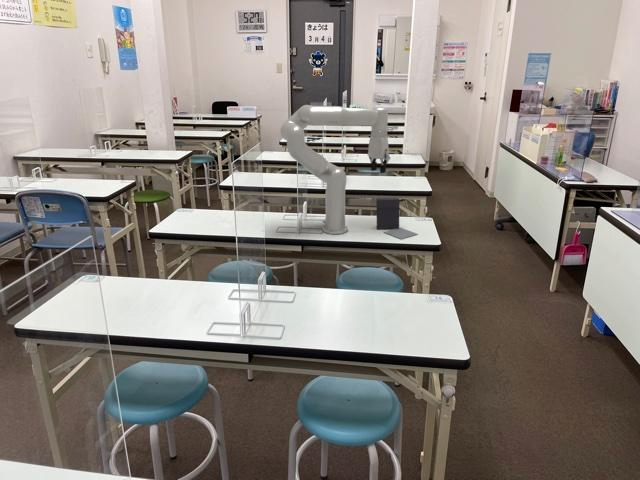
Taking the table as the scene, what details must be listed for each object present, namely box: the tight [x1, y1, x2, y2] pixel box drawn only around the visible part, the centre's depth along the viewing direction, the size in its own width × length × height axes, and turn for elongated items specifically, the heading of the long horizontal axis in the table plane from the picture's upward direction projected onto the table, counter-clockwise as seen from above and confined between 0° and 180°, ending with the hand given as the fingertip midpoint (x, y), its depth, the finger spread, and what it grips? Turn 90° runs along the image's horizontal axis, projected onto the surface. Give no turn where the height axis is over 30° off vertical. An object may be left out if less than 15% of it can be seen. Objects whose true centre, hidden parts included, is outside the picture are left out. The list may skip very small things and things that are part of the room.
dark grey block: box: [375, 197, 400, 230], centre depth 234 cm, size 11×4×15 cm, turn 84°
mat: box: [383, 227, 419, 241], centre depth 228 cm, size 12×11×1 cm
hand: (378, 171), depth 233 cm, fingers open, 5 cm apart
